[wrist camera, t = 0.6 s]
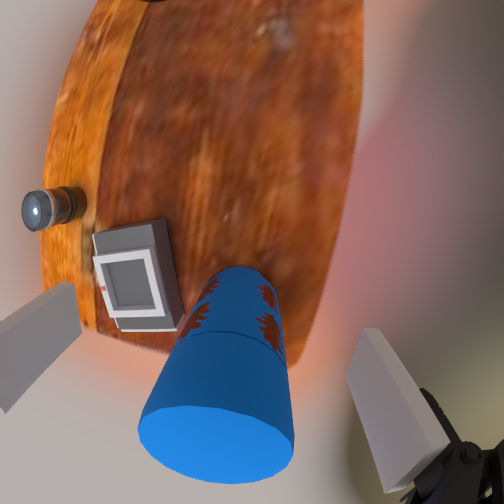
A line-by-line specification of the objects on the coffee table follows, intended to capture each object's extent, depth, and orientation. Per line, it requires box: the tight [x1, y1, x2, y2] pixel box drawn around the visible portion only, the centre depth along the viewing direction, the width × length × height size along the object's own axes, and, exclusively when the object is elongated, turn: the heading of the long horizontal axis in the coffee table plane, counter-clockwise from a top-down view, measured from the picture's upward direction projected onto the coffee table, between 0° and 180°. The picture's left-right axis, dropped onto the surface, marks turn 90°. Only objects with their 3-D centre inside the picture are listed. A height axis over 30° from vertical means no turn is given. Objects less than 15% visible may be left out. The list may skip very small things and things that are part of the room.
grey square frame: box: [92, 218, 185, 332], centre depth 34 cm, size 15×10×7 cm, turn 7°
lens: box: [22, 186, 87, 231], centre depth 30 cm, size 6×6×10 cm
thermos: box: [138, 267, 294, 484], centre depth 26 cm, size 11×11×25 cm
